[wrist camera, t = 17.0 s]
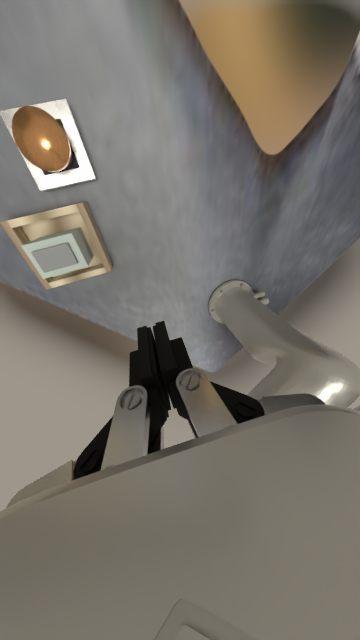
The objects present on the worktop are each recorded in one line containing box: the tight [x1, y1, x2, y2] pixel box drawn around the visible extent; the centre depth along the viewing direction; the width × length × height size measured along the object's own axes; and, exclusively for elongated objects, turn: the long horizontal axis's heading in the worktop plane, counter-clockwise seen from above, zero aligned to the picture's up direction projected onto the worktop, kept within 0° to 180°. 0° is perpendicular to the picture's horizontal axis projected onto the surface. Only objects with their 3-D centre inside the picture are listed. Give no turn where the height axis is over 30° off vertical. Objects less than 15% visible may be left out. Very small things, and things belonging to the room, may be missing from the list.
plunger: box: [12, 106, 73, 172], centre depth 24 cm, size 6×6×6 cm
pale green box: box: [21, 227, 94, 279], centre depth 30 cm, size 5×7×8 cm
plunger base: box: [0, 99, 97, 191], centre depth 26 cm, size 8×8×3 cm
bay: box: [0, 202, 113, 290], centre depth 32 cm, size 12×11×4 cm
